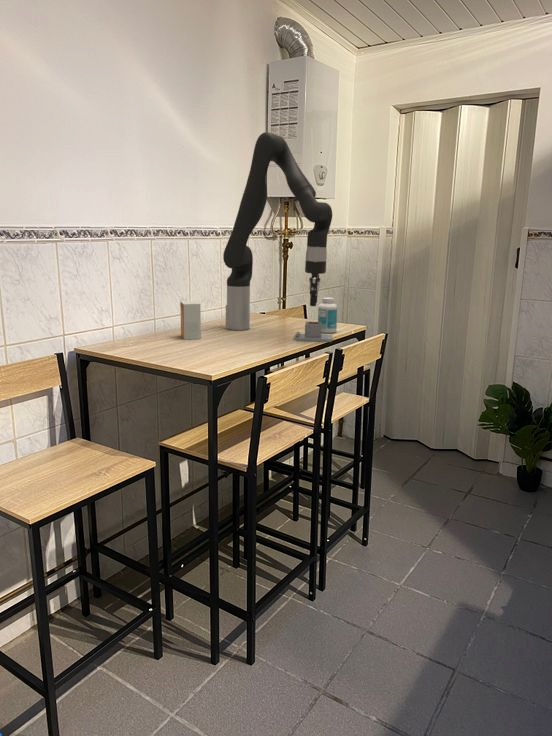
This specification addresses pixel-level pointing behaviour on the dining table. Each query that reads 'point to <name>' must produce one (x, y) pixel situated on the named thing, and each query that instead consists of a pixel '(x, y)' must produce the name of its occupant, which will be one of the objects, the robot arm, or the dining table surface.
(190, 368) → the dining table surface
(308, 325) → the grey block
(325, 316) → the pill bottle
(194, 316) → the small box
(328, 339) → the keeper
